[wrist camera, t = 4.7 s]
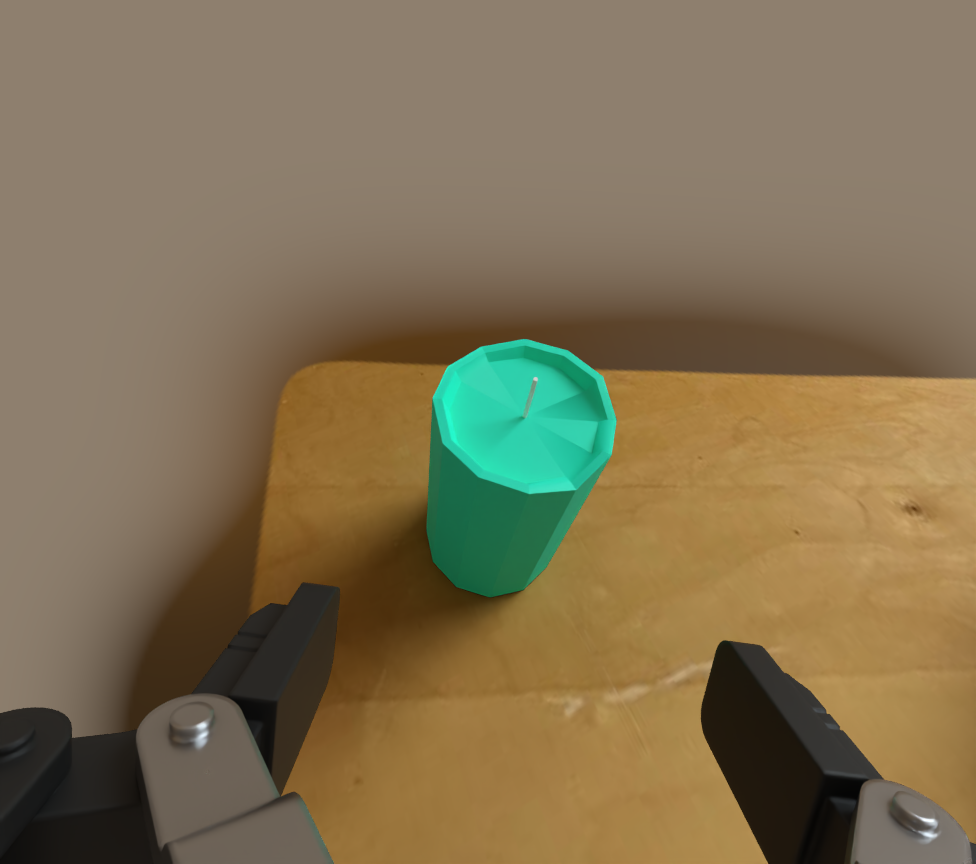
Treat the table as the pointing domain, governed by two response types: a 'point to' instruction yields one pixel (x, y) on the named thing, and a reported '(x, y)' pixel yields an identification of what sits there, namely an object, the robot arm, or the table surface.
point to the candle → (512, 461)
